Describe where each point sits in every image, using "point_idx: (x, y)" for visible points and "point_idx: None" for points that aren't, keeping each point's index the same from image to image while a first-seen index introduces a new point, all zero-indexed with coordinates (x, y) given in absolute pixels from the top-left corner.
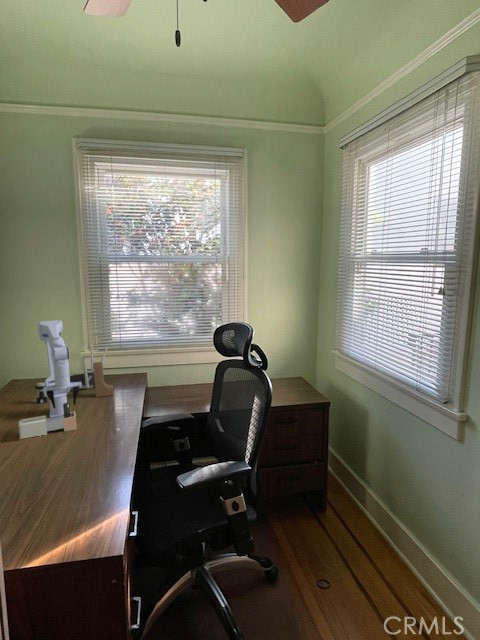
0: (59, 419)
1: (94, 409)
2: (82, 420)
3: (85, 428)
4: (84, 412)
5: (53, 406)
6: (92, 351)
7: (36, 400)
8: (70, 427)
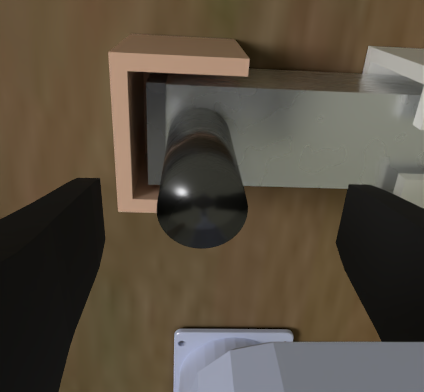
0: (281, 100)
1: None
2: None
3: (54, 5)
4: None
5: (386, 192)
6: None
7: None
8: (181, 39)
